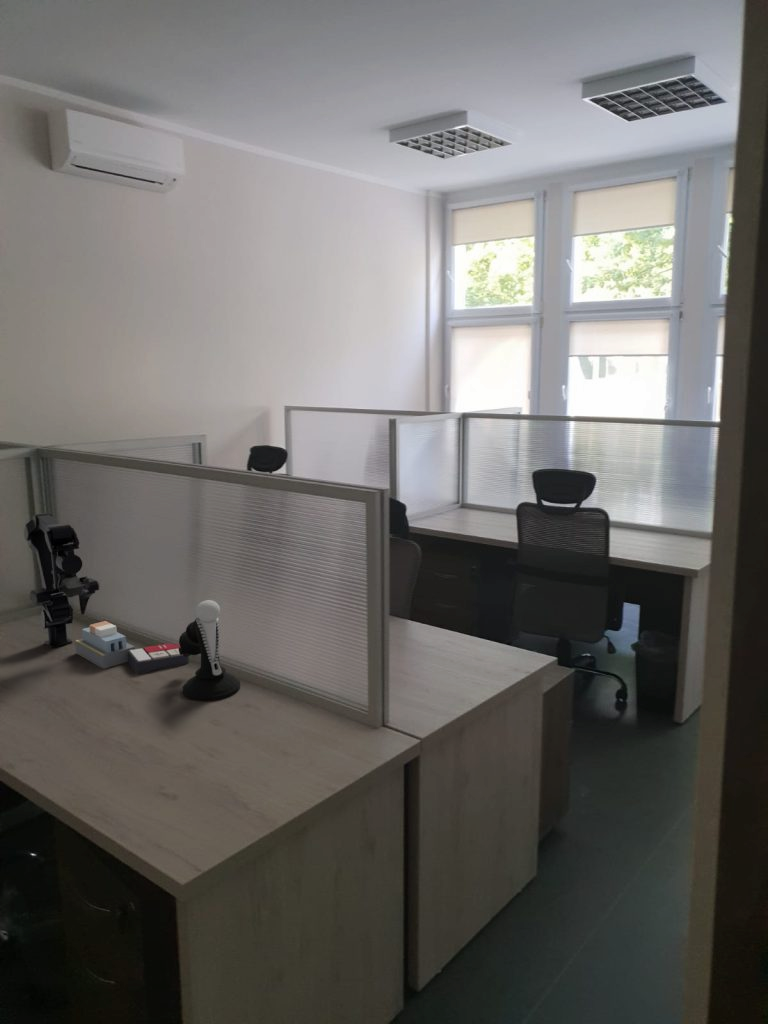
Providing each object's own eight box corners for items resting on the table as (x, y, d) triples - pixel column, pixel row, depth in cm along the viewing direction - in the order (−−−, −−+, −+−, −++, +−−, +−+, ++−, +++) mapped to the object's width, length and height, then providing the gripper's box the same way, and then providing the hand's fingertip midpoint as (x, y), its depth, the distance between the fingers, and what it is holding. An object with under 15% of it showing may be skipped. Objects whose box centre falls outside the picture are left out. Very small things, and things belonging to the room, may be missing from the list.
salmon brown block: (90, 631, 235) (89, 624, 234) (106, 627, 238) (105, 620, 238) (95, 634, 232) (94, 627, 232) (111, 630, 236) (110, 623, 235)
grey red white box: (189, 652, 229) (136, 660, 221) (189, 666, 229) (137, 674, 222) (177, 641, 238) (127, 648, 230) (177, 654, 239) (127, 662, 231)
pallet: (83, 639, 238) (82, 629, 237) (101, 634, 242) (100, 624, 242) (107, 653, 227) (106, 641, 226) (126, 647, 231) (125, 636, 230)
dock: (76, 653, 238) (75, 640, 237) (107, 644, 245) (106, 632, 244) (103, 668, 226) (102, 655, 225) (135, 659, 233) (134, 646, 232)
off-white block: (95, 634, 232) (94, 627, 232) (111, 630, 236) (110, 623, 235) (100, 637, 230) (100, 630, 229) (117, 633, 233) (116, 626, 233)
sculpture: (197, 706, 200) (191, 612, 195) (160, 678, 218) (154, 592, 214) (250, 690, 209) (246, 600, 205) (210, 664, 228) (205, 581, 223)
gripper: (42, 578, 219) (47, 631, 222) (105, 565, 232) (109, 616, 235) (26, 571, 226) (31, 623, 229) (88, 559, 239) (93, 608, 242)
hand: (67, 617), depth 234 cm, fingers open, 9 cm apart
